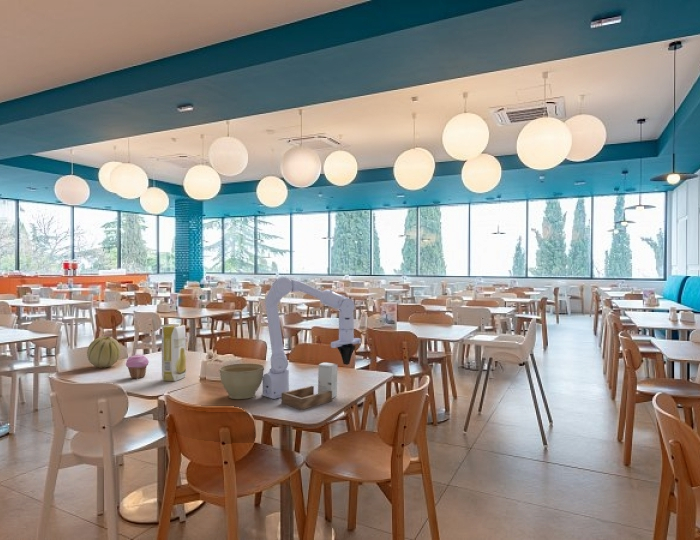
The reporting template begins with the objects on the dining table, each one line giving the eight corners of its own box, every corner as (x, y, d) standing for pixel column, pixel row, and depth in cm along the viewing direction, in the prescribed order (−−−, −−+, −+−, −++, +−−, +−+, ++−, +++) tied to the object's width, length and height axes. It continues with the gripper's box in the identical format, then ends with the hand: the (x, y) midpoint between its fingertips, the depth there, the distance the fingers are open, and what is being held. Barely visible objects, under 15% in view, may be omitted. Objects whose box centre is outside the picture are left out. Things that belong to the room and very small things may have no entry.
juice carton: (176, 382, 197) (175, 324, 197) (159, 381, 198) (158, 324, 198) (188, 376, 206) (188, 322, 206) (171, 376, 207) (171, 321, 207)
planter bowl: (273, 395, 176) (273, 366, 176) (236, 405, 164) (236, 374, 164) (247, 388, 187) (247, 360, 187) (211, 396, 175) (210, 367, 174)
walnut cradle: (301, 409, 159) (301, 399, 159) (281, 403, 166) (281, 392, 166) (331, 401, 169) (331, 391, 168) (311, 395, 176) (311, 385, 176)
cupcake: (137, 380, 199) (137, 357, 199) (121, 379, 202) (121, 355, 202) (152, 376, 208) (152, 353, 208) (137, 374, 211) (136, 352, 210)
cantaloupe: (98, 363, 234) (97, 333, 234) (127, 364, 233) (126, 333, 233) (79, 370, 219) (79, 338, 219) (110, 370, 218) (110, 338, 218)
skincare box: (317, 396, 174) (317, 364, 174) (323, 394, 178) (323, 362, 178) (331, 399, 171) (331, 365, 171) (337, 396, 175) (337, 363, 175)
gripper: (339, 331, 174) (340, 368, 174) (366, 328, 184) (366, 362, 184) (326, 330, 179) (327, 365, 179) (353, 326, 189) (353, 360, 189)
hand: (346, 364), depth 182 cm, fingers closed
